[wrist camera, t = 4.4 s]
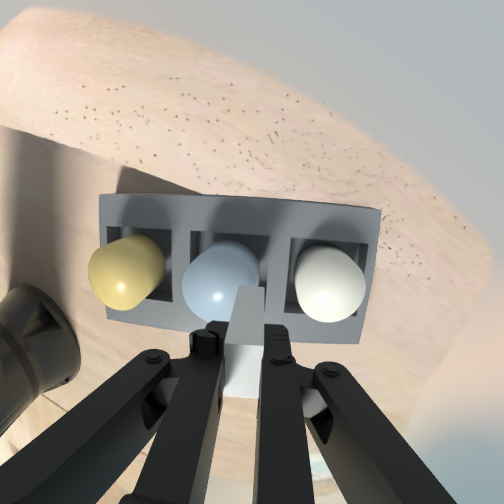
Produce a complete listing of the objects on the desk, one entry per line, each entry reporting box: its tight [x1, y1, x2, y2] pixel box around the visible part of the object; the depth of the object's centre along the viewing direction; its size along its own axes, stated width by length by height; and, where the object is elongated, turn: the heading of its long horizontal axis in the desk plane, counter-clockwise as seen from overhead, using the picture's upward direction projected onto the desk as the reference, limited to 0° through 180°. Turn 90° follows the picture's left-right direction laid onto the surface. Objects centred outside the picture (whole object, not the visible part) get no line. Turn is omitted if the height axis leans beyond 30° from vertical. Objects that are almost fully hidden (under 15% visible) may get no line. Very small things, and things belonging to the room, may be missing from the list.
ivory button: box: [293, 244, 366, 322], centre depth 23 cm, size 5×5×4 cm
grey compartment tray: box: [99, 193, 382, 344], centre depth 25 cm, size 24×12×3 cm, turn 87°
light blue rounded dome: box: [182, 240, 260, 322], centre depth 22 cm, size 5×5×4 cm
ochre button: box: [88, 234, 166, 311], centre depth 22 cm, size 5×5×4 cm
